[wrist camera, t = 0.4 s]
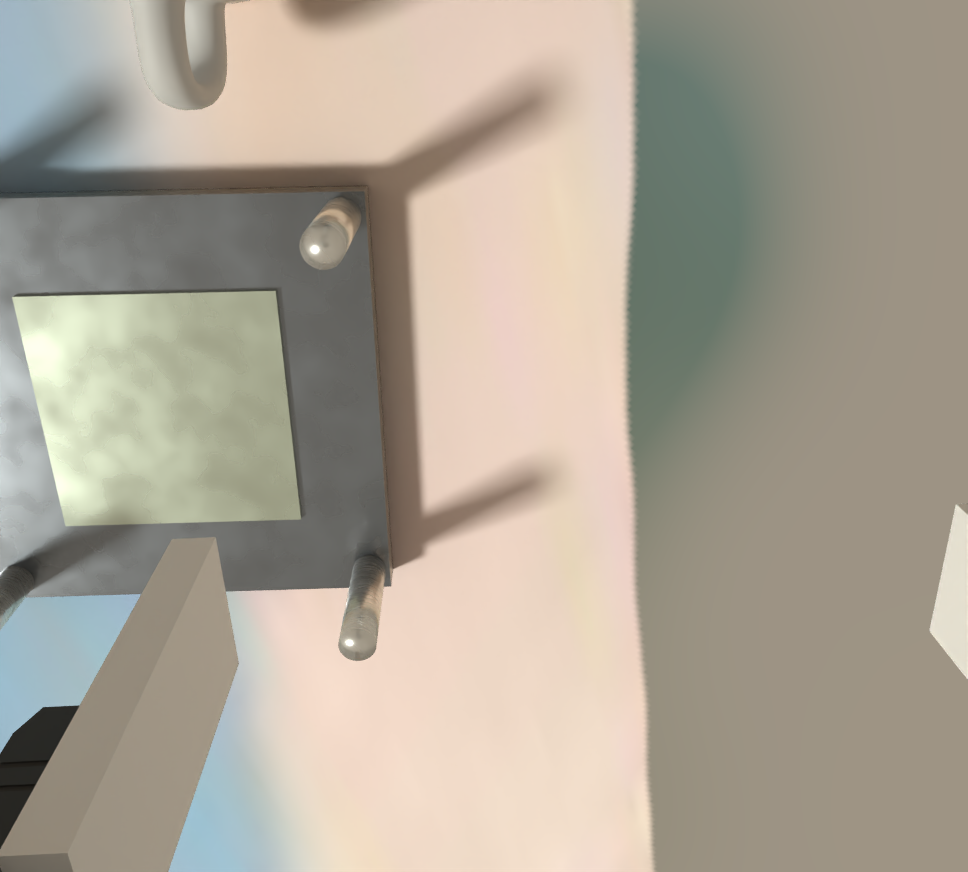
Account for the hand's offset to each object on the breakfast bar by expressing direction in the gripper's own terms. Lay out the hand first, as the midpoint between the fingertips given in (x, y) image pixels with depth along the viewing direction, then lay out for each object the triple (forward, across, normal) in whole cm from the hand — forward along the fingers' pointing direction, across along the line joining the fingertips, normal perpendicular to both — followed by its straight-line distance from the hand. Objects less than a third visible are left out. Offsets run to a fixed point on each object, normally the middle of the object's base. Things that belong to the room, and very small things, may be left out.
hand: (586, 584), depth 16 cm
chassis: (+25, -16, -6) cm, 30 cm away
